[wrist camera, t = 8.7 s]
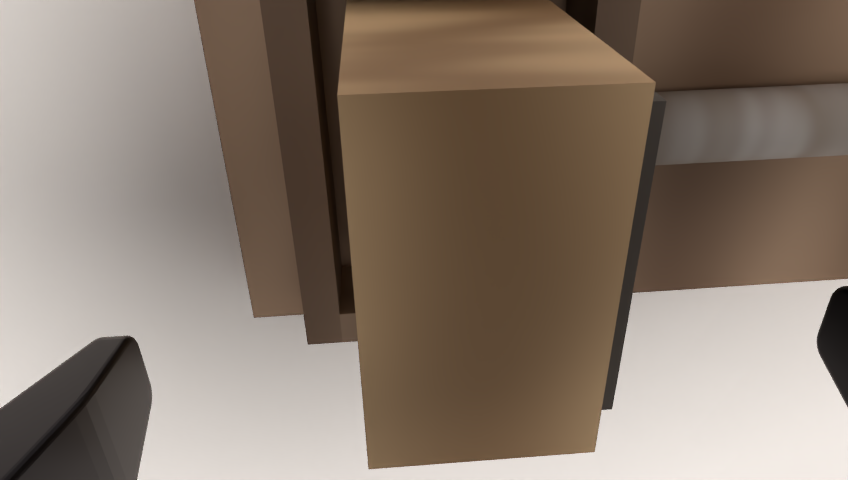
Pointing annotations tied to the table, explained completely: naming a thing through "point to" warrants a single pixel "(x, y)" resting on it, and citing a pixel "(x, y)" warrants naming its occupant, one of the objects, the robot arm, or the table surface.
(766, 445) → the table surface
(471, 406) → the tan wooden block
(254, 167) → the rail
